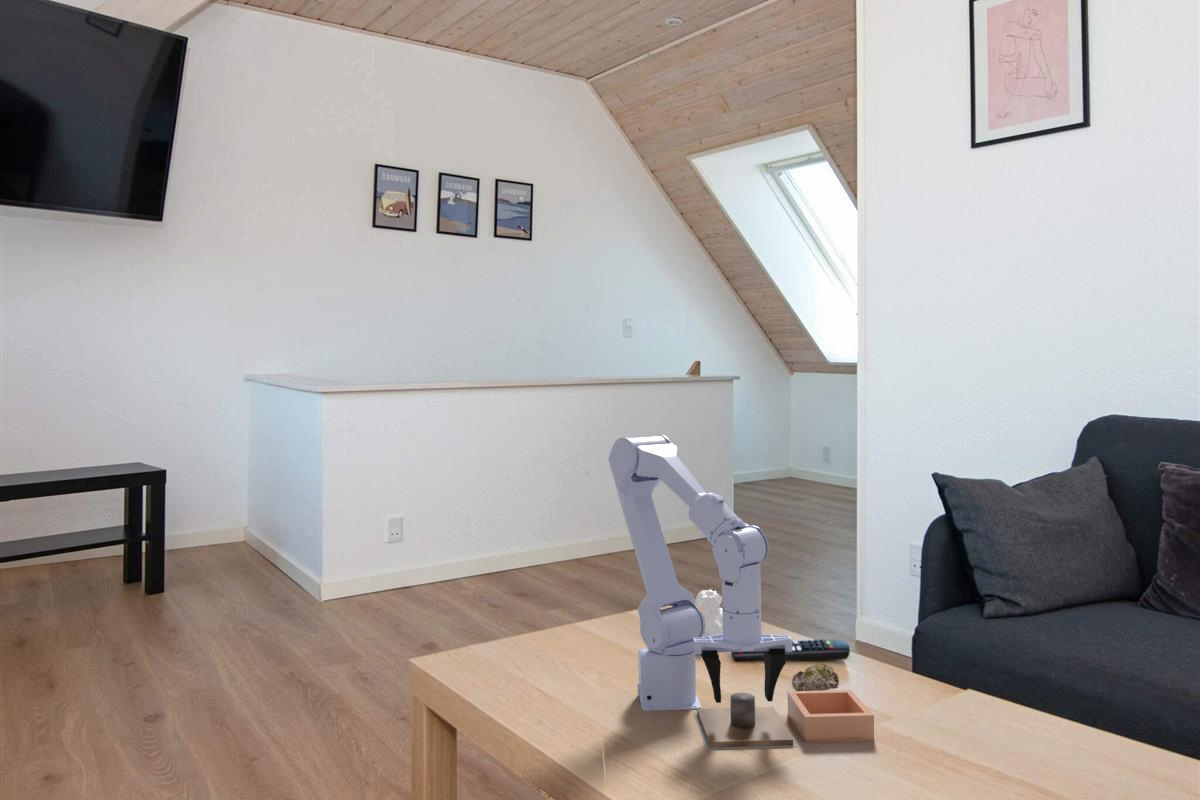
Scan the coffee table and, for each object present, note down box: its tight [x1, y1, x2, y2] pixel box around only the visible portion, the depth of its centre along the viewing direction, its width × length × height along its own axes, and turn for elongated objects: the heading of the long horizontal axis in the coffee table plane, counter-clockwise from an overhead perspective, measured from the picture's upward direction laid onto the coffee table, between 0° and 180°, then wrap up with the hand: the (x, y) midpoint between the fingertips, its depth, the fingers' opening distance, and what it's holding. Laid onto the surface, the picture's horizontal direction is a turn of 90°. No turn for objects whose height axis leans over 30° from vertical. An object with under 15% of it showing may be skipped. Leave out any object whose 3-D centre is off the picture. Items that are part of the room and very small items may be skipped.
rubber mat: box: [693, 712, 798, 750], centre depth 125 cm, size 13×13×1 cm
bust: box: [695, 588, 723, 637], centre depth 169 cm, size 12×8×11 cm
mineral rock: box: [791, 663, 840, 691], centre depth 144 cm, size 11×4×8 cm
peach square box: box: [787, 689, 875, 743], centre depth 125 cm, size 10×10×4 cm
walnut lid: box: [696, 692, 794, 747], centre depth 125 cm, size 12×12×5 cm
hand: (743, 699), depth 125 cm, fingers open, 7 cm apart
